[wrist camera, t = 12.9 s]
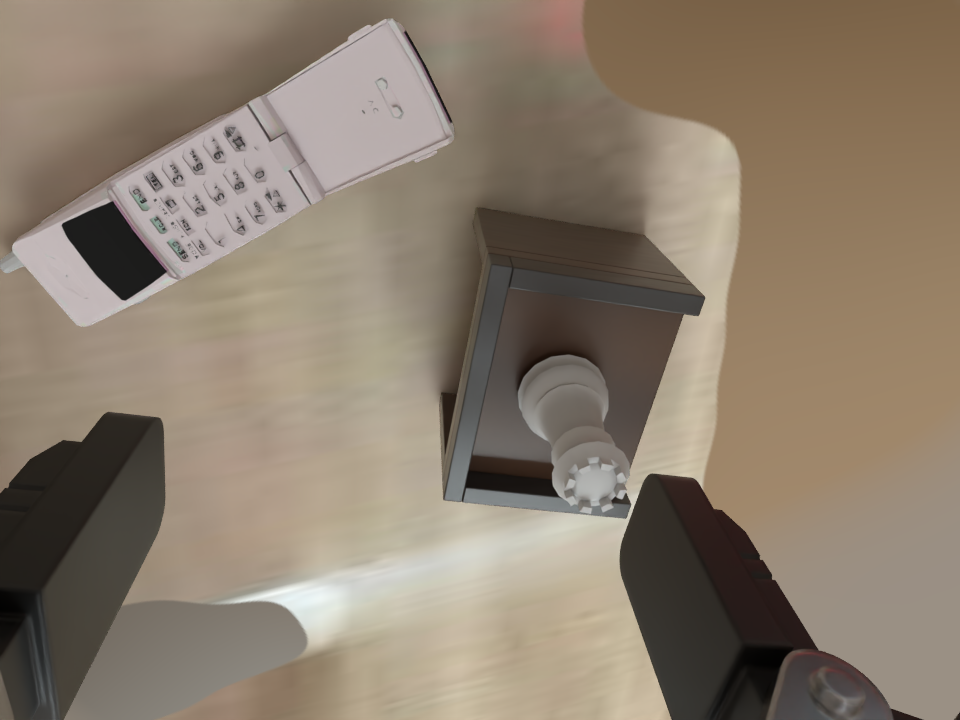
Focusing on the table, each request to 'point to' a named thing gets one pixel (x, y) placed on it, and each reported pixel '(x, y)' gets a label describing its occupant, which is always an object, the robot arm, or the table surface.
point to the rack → (555, 349)
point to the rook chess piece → (575, 430)
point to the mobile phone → (239, 176)
